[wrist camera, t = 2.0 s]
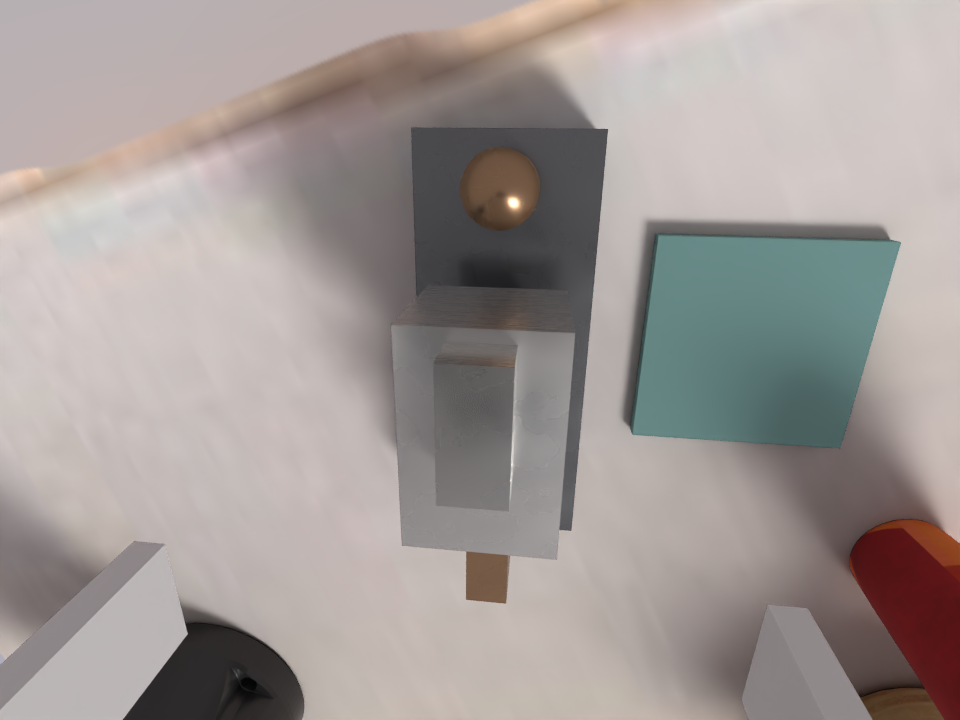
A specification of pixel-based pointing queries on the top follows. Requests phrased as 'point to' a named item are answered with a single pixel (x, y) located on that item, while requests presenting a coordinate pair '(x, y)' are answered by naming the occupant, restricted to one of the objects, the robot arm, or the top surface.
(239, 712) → the robot arm
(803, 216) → the top surface
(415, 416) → the lever cap
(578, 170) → the hand plane
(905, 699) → the ceramic vessel
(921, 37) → the top surface
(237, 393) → the top surface
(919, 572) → the coffee cup
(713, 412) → the rubber mat
